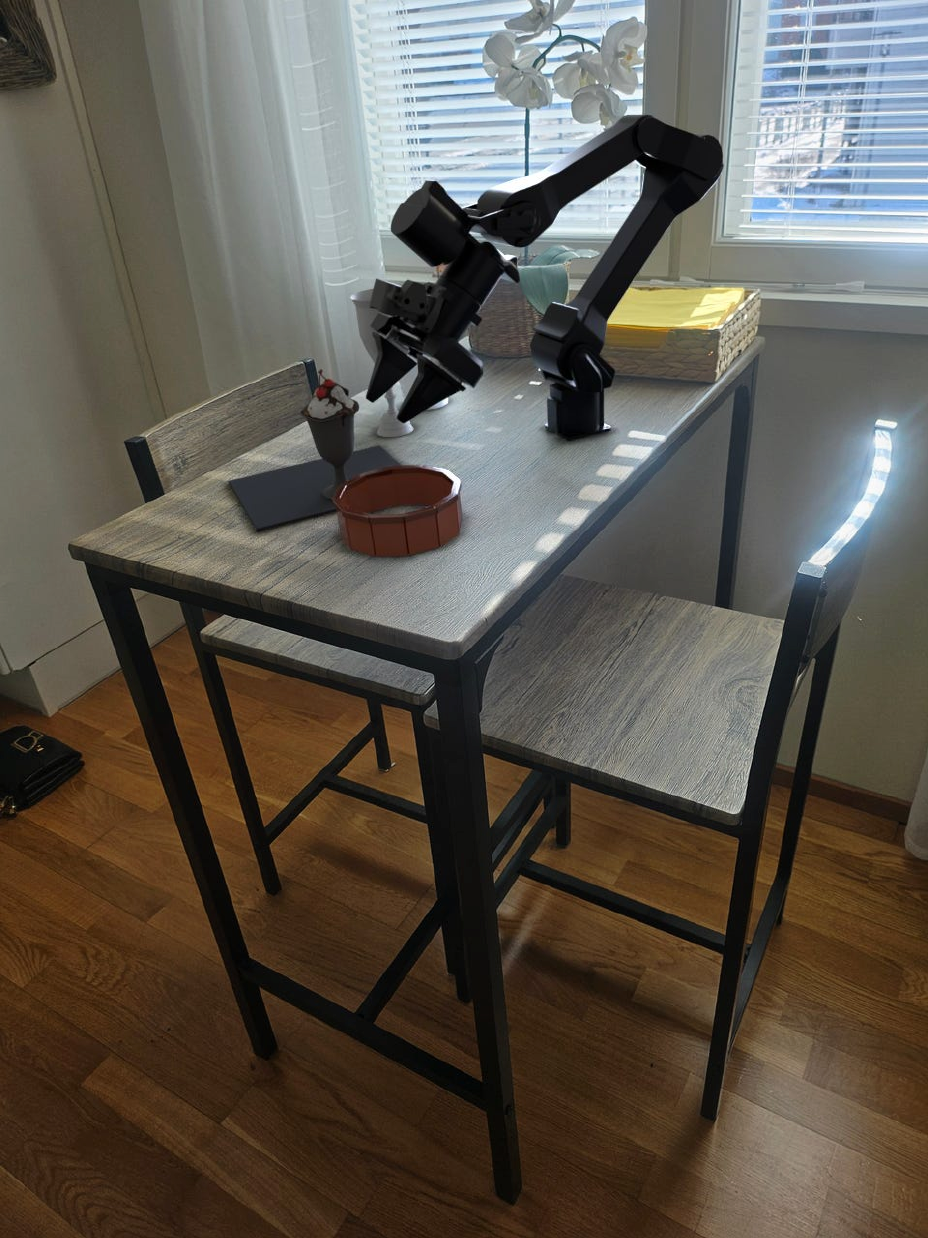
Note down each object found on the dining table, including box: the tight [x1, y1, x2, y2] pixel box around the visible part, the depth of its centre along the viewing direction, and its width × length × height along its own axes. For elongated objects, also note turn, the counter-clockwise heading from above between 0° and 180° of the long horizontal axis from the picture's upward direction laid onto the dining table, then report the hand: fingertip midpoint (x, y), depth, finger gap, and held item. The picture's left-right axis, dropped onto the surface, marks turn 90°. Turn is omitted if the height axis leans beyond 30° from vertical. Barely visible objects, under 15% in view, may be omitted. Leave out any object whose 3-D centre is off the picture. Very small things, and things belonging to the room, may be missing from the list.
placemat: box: [228, 444, 402, 533], centre depth 106 cm, size 20×16×1 cm
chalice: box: [349, 288, 414, 438], centre depth 116 cm, size 7×7×18 cm
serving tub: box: [333, 464, 464, 558], centre depth 93 cm, size 13×13×4 cm
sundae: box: [298, 368, 360, 500], centre depth 99 cm, size 7×7×15 cm
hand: (383, 410), depth 101 cm, fingers open, 9 cm apart
